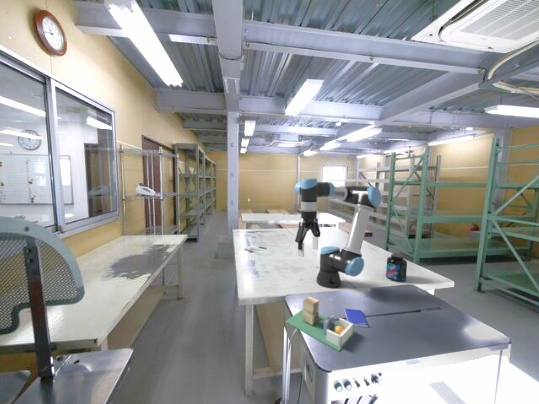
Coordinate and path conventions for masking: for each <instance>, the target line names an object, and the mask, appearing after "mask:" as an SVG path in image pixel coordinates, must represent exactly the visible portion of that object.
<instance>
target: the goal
mask: <svg viewBox="0 0 539 404" xmlns="http://www.w3.org/2000/svg"><path fill="white" fill-rule="evenodd" d="M338 323H339V326H341V327H343V329H344V331H343V332H342V333H341V334H340V335H338V334H336V333H334V332H332V331H330V330H327V333H326V340H328V341H329V342H331V343H333V344H335V345H337V346H339V347H341V346H342V345H343V344H344V342H345V341H346V340H347V339H348V338H349V337H350V336H351V335H352V333H353V330H354V327H355V326H354V324H353V323H351V322H348V320H347V319H343V318H341V317H339V318H338Z"/></svg>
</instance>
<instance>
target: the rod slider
mask: <svg viewBox="0 0 539 404" xmlns="http://www.w3.org/2000/svg"><path fill="white" fill-rule="evenodd" d="M319 305H320V300H319V299H316V298H314V297H311V296H308V297H307V298H305V299H303V305H302V307H303V308H302V310H303V321H305V322H307V323H309V324H311V325H313V324H314V323H316V322H317V321H318V322H320V323H323V324H324V327H323V333H325V334H326V333H327V330H331V329H333V328H334V326H335V322H336V321H335V320H336V315H334V314H330V315H329V316H328V317H326V318H327V319H326V320H324V319H322V318H320V317H318V314H319V311H320V310H319V309H320V306H319Z"/></svg>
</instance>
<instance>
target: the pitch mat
mask: <svg viewBox="0 0 539 404" xmlns="http://www.w3.org/2000/svg"><path fill="white" fill-rule="evenodd" d="M318 317H320V318H322V319H324V320H326V319H327V318H328V317H326V316H324V315H323V314H319V313H318ZM284 322H285V324H286V323H287V324H288V325H290V326H292V327H293V328H295V329H297V330H299V331H300V332H303V333H305V334H306V335H308V336H310V337H311V338H313V339H314V340H316V341H319V342H320V343H322V344H324V345H326V346H328V347H330V348H331V349H333V350H336V351H337V352H340V351H341V350H342V349H343V348H345V346H346V344H347V343H348V342H349V341H350V339H351V338H353V336H354V335H355V334H356V333H357V330H354V329H353V333H352V335H351V336H350V337H349V338H348V339H347V340H346V341H345V342H344V344H343V345H342V346H341V347H339V346H337V345H335V344H333V343H331V342H329V341H328V340H326V334H325V333H323V327H324V324H323V323H320V322H318V321H317V322H316V323H314V324H313V325H311V324H309V323H307V322H305V321H303V309H301V310H300V311H298V312H297V313H295V314H294V315H293V316H291V317H290V318H288V319H286V320H285V321H284ZM336 326H339V322H336V321H335V326H334V328H333V329H331V330H330V331H332V332H334V329H335V327H336ZM334 333H335V332H334Z"/></svg>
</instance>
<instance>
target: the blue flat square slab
mask: <svg viewBox="0 0 539 404" xmlns="http://www.w3.org/2000/svg"><path fill="white" fill-rule="evenodd" d="M344 313H345V317H346V321H348V322H351V323H353V324H354V326H353V327H360V328H361V327H362V328H369V325H368V324H369V323H367V320H366V317H365V315H364V313H363V310H361V309H352V308H344Z"/></svg>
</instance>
